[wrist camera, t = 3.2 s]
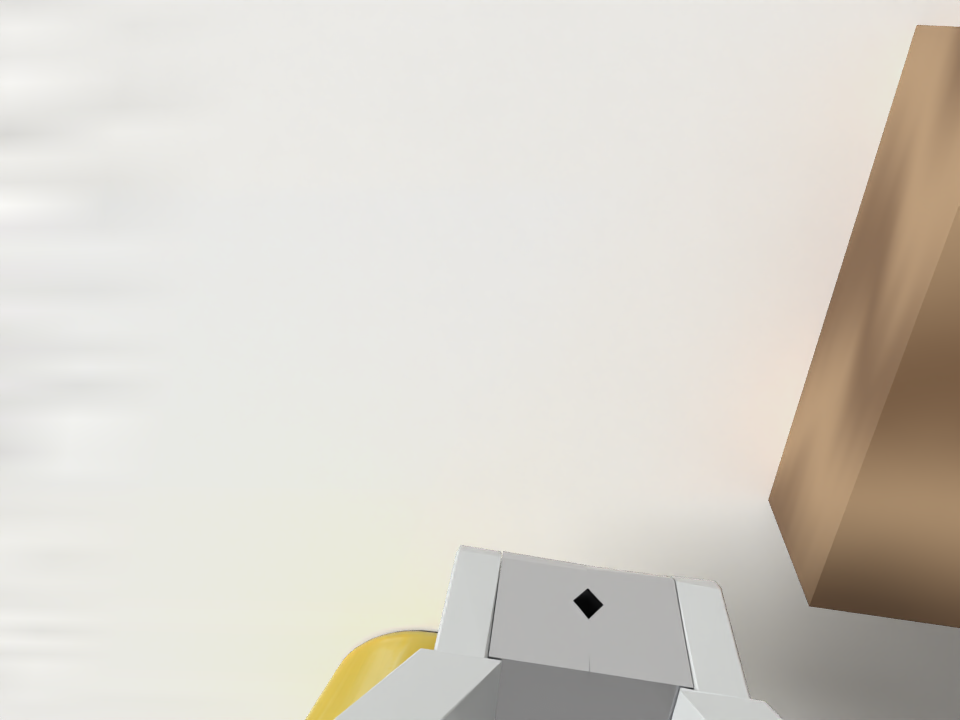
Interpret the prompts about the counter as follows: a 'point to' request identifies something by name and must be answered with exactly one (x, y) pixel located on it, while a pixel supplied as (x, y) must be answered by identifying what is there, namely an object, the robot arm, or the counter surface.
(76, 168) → the counter surface
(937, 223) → the t block
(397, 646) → the plant pot
